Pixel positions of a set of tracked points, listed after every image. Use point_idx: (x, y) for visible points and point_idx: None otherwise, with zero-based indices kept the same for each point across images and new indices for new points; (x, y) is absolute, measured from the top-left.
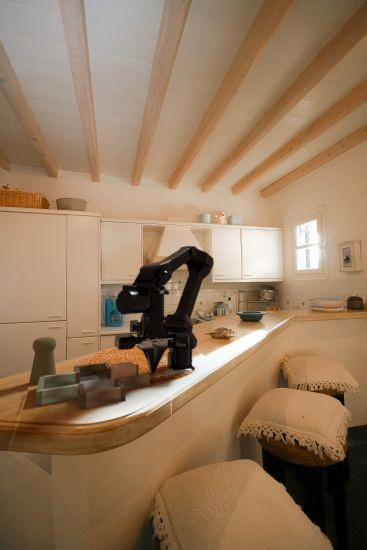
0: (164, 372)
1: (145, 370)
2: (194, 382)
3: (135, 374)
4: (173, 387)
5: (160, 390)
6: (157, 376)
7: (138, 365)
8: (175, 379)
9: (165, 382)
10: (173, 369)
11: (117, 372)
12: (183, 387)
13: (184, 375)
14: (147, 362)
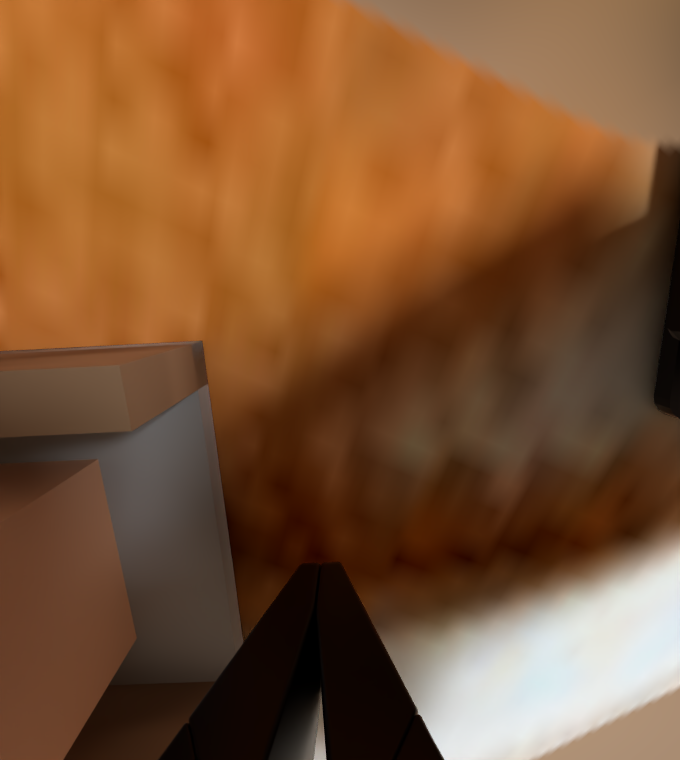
0: (537, 350)
1: (344, 163)
2: (640, 702)
3: (62, 744)
4: (432, 727)
5: (318, 739)
6: (408, 449)
7: (134, 429)
8: (534, 590)
9: (417, 621)
10: (672, 369)
11: None
12: (501, 751)
13: (677, 526)
14: (223, 686)
